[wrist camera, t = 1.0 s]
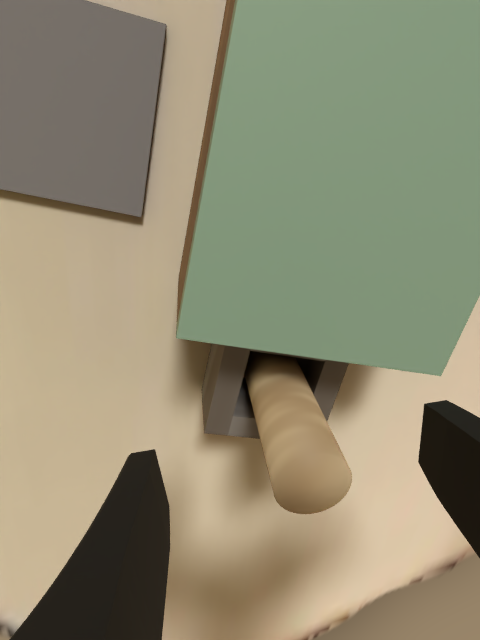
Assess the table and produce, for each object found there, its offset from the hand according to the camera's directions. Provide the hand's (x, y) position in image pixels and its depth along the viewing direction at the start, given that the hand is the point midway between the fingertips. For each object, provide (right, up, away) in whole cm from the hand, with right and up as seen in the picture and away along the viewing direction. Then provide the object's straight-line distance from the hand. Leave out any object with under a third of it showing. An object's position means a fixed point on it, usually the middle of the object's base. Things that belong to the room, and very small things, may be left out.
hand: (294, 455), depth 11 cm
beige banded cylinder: (0, +2, +11) cm, 11 cm away
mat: (-8, +12, +5) cm, 15 cm away
